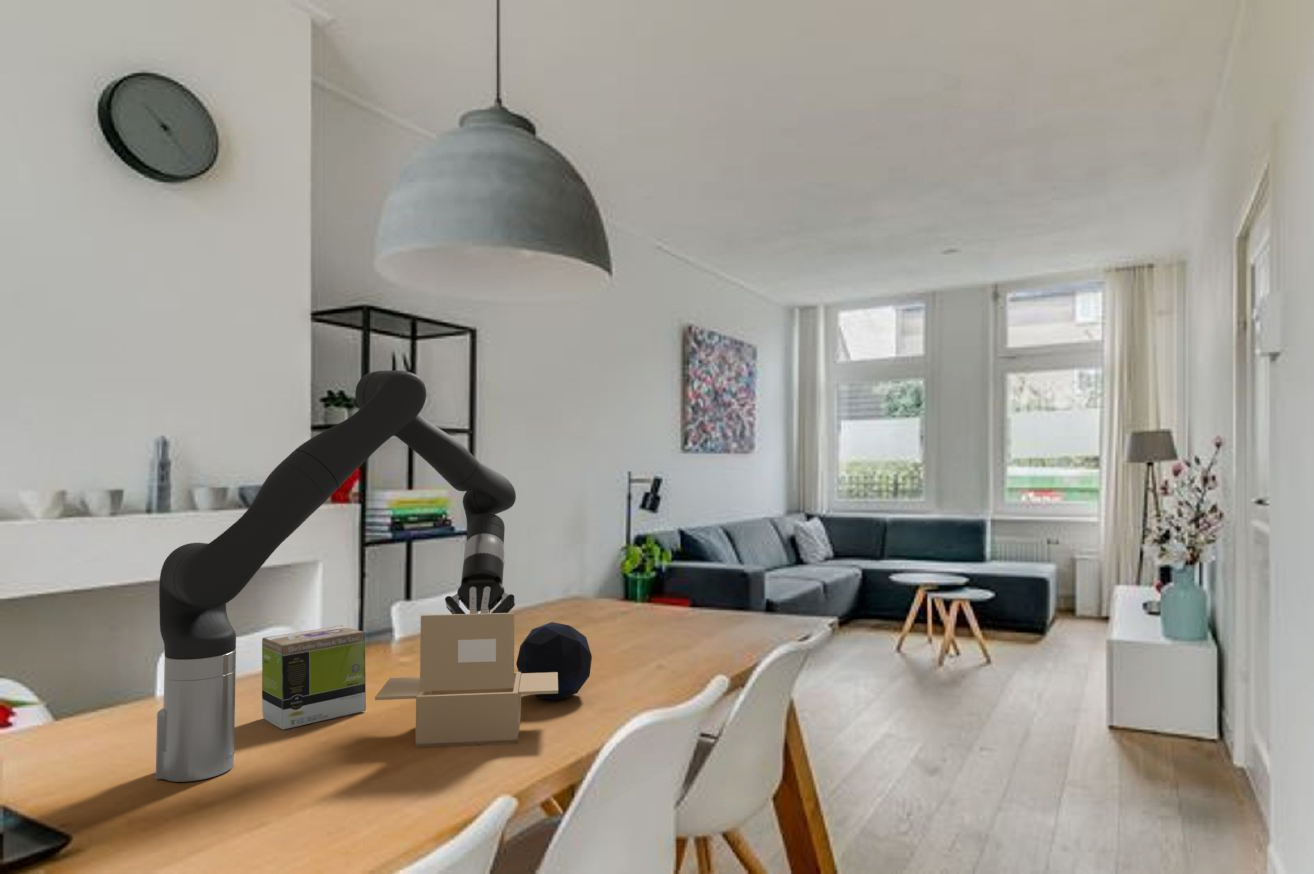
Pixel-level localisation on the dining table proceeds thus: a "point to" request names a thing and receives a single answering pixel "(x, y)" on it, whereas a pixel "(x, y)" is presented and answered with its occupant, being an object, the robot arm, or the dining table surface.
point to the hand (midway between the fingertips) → (476, 643)
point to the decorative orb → (557, 657)
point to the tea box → (313, 676)
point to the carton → (468, 710)
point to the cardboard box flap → (467, 651)
